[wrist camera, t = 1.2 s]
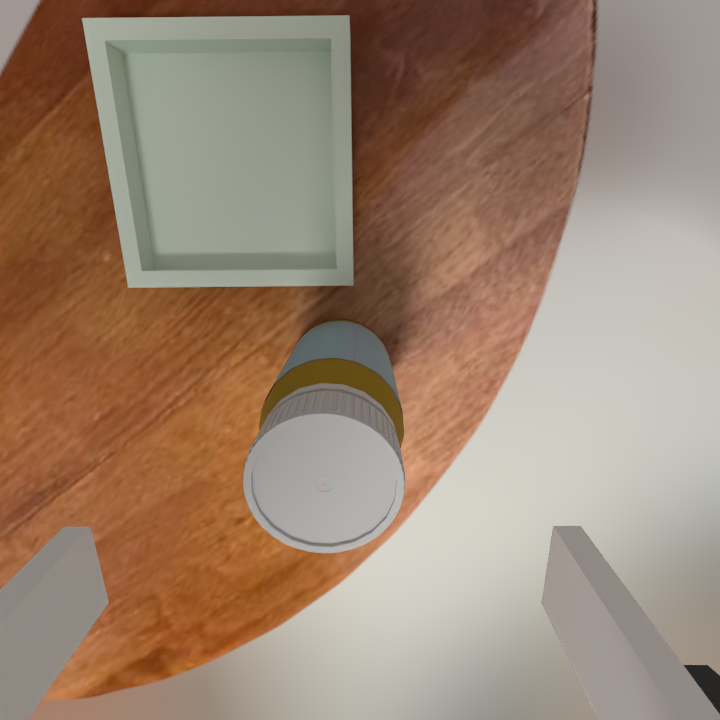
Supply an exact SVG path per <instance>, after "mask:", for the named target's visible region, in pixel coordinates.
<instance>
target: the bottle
mask: <svg viewBox="0 0 720 720" xmlns="http://www.w3.org/2000/svg"><path fill="white" fill-rule="evenodd" d="M259 429H260V431H259V433H258V435H257V437H256V439H255V441H254V443H253V445H252V447H251V449H250V451H249V453H248V455H247V459H246V461H245V465H246V466H245V468H244V477H243V486H244V493H245V498H246V501H247V504H248V506H249V508H250V511H251V512H252V514H253V516H254V517H255V519H256V520H257V521H258V523H259V524H260V525H261V526H262V527H263V528H264V529H265V530H266V531H267V532H268V533H269V534H271V535H272V536H273V537H275V538H276V539H278V540H279V541H281V542H283V543H285V544H287V545H289V546H292V547H294V548H297V549H300V550H304V551H309V552H316V553H336V552H343V551H347V550H351V549H354V548H357V547H360V546H362V545H364V544H366V543H368V542H370V541H371V540H373V539H374V538H376V537H377V536H379V535H380V534H381V533H382V532H383V531H384V530H385V529H386V528H387V527H388V526H389V525H390V524H391V522H392V521H393V520H394V518H395V516H396V515H397V513H398V511H399V508H400V506H401V503H402V499H403V496H404V490H405V485H404V484H405V471H404V466H403V461H402V455H401V450H400V448H401V445H402V441H403V437H404V426H403V414H402V408H401V404H400V400H399V396H398V392H397V387H396V383H395V379H394V375H393V371H392V366H391V362H390V358H389V355H388V353H387V351H386V348H385V346H384V344H383V342H382V341H381V340H380V338H379V337H378V336H377V335H376V334H375V333H374V332H373V331H372V330H370V329H369V328H367V327H365V326H363V325H362V324H360V323H357V322H353V321H348V320H332V321H326V322H323V323H321V324H319V325H317V326H314V327H313V328H311V329H310V330H309V331H308V332H307V333H306V334H304V335H303V336H302V338H301V339H300V340H299V341H298V343H297V345H296V346H295V348H294V350H293V352H292V353H291V355H290V357H289V359H288V361H287V362H286V364H285V366H284V368H283V369H282V371H281V373H280V375H279V376H278V378H277V380H276V382H275V383H274V385H273V387H272V389H271V391H270V392H269V394H268V396H267V398H266V400H265V403H264V405H263V408H262V412H261V418H260V424H259Z"/></svg>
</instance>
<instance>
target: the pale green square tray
mask: <svg viewBox="0 0 720 720" xmlns="http://www.w3.org/2000/svg"><path fill="white" fill-rule="evenodd" d="M82 22H83V27H84V33H85V39H86V45H87V51H88V57H89V62H90V68H91V74H92V80H93V86H94V91H95V97H96V103H97V109H98V115H99V121H100V126H101V132H102V138H103V144H104V150H105V155H106V161H107V167H108V173H109V179H110V185H111V190H112V196H113V202H114V208H115V214H116V219H117V225H118V231H119V237H120V243H121V249H122V254H123V260H124V266H125V272H126V278H127V283H128V288H151V287H258V286H353V284H354V258H353V183H352V108H351V36H350V15H330V16H235V17H139V18H82Z"/></svg>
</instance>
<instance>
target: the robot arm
mask: <svg viewBox="0 0 720 720" xmlns="http://www.w3.org/2000/svg"><path fill="white" fill-rule="evenodd" d="M108 603H109V602H108V598H107V594H106V590H105V585H104V581H103V577H102V573H101V569H100V564H99V560H98V556H97V552H96V548H95V543H94V539H93V535H92V531H91V527H63V528H62V529H61V530H60V531H59V532H58V533H57V534H56V535H55V536H54V537H53V538H52V539H51V540H50V541H49V542H48V543H47V544H46V545H45V546H44V547H43V548H42V549H41V550H40V551H39V552H38V553H37V554H36V555H35V556H34V557H33V558H32V559H31V560H30V561H28V562H27V563H26V564H25V565H24V566H23V567H22V568H21V569H20V570H19V571H18V572H17V573H16V574H15V575H14V576H13V577H12V578H11V579H10V580H9V581H8V582H7V583H6V584H5V585H4V586H3V587H2V588H1V589H0V720H28V719H29V717H30V715H31V714H32V713H33V711H34V710H35V708H36V707H37V706H38V704H39V703H40V701H41V700H42V698H43V697H44V695H45V694H46V693H47V691H48V690H49V688H50V687H51V685H52V684H53V682H54V681H55V679H56V678H57V677H58V675H59V674H60V672H61V671H62V669H63V668H64V666H65V665H66V664H67V662H68V661H69V659H70V658H71V656H72V655H73V653H74V652H75V651H76V649H77V648H78V646H79V645H80V643H81V642H82V640H83V639H84V638H85V636H86V635H87V633H88V632H89V630H90V629H91V627H92V626H93V625H94V623H95V622H96V620H97V619H98V617H99V616H100V614H101V613H102V611H103V610H104V609H105V607H106V606H107V604H108ZM542 605H543V607H544V609H545V611H546V613H547V615H548V617H549V620H550V621H551V624H552V626H553V628H554V630H555V632H556V634H557V636H558V638H559V640H560V642H561V645H562V647H563V649H564V651H565V653H566V655H567V657H568V659H569V661H570V663H571V665H572V667H573V669H574V672H575V673H576V676H577V678H578V680H579V682H580V684H581V686H582V688H583V690H584V692H585V694H586V697H587V699H588V701H589V703H590V705H591V707H592V709H593V711H594V713H595V715H596V717H597V720H720V676H719V675H718V674H717V673H716V672H715V671H714V670H712V669H711V668H710V667H709V666H708V665H683V664H682V663H681V661H680V660H679V659H678V657H677V656H676V654H675V653H674V652H673V650H672V649H671V648H670V646H669V645H668V644H667V642H666V641H665V640H664V638H663V637H662V636H661V634H660V633H659V632H658V630H657V629H656V627H655V626H654V625H653V624H652V622H651V621H650V620H649V618H648V617H647V615H646V614H645V613H644V611H643V610H642V608H641V607H640V606H639V605H638V603H637V602H636V600H635V599H634V598H633V596H632V595H631V594H630V592H629V591H628V590H627V588H626V587H625V586H624V584H623V583H622V582H621V580H620V579H619V577H618V576H617V575H616V573H615V572H614V571H613V569H612V568H611V567H610V565H609V564H608V563H607V561H606V560H605V558H604V557H603V556H602V554H601V553H600V552H599V550H598V549H597V548H596V546H595V545H594V544H593V542H592V541H591V540H590V538H589V537H588V535H587V534H586V533H585V531H584V530H583V529H582V527H581V526H553V531H552V538H551V544H550V551H549V558H548V564H547V571H546V577H545V584H544V591H543V597H542Z"/></svg>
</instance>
